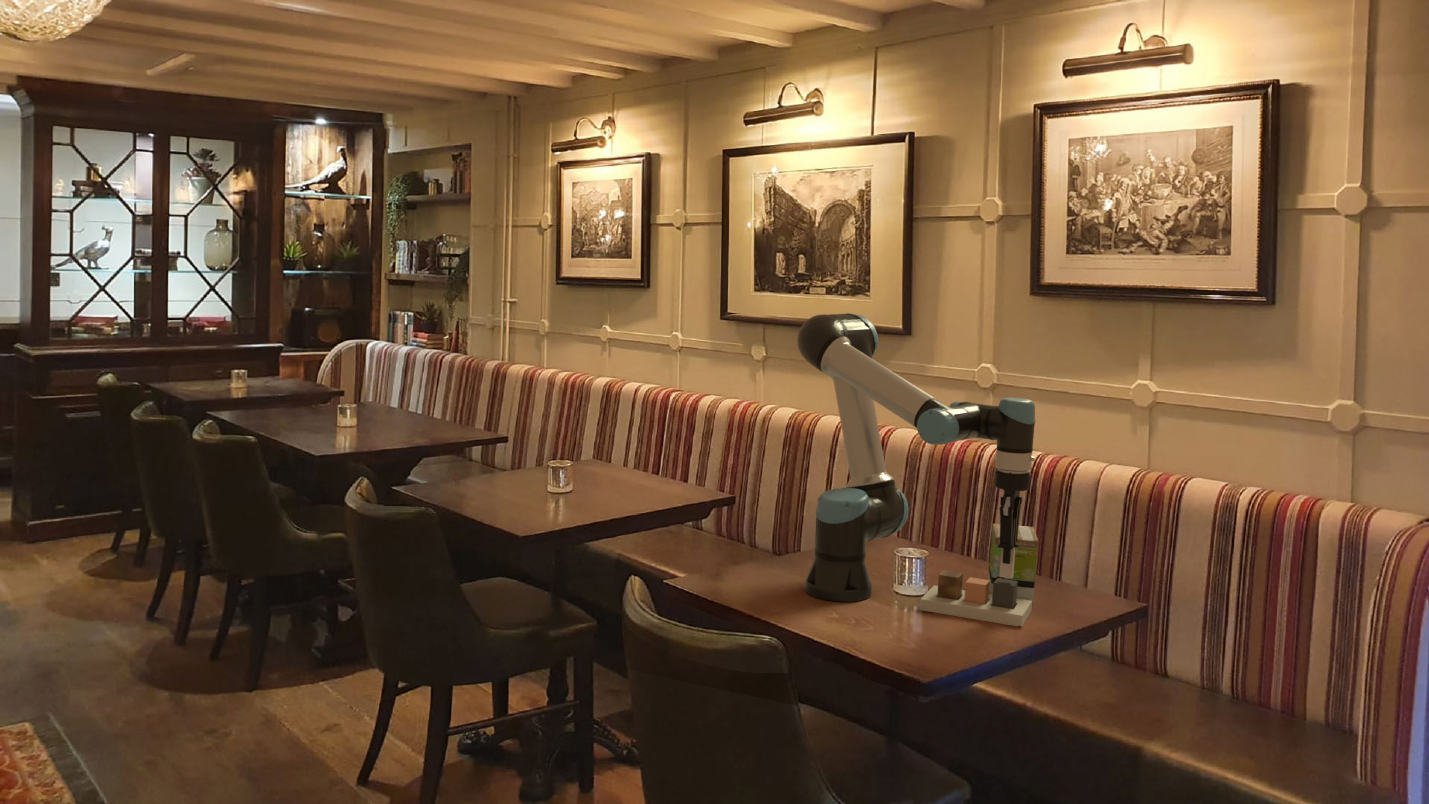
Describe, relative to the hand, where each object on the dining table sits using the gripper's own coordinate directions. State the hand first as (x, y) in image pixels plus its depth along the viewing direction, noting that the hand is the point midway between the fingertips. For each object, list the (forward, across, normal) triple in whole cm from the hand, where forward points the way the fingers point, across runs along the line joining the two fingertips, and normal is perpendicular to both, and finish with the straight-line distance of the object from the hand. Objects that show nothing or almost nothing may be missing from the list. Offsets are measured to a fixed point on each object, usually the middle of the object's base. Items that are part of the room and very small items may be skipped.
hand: (1006, 576), depth 241 cm
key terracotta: (+7, 0, +6) cm, 9 cm away
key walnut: (+6, 0, +12) cm, 14 cm away
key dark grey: (+6, 0, 0) cm, 6 cm away
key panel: (+9, 0, +6) cm, 11 cm away
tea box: (+9, +19, +2) cm, 21 cm away
